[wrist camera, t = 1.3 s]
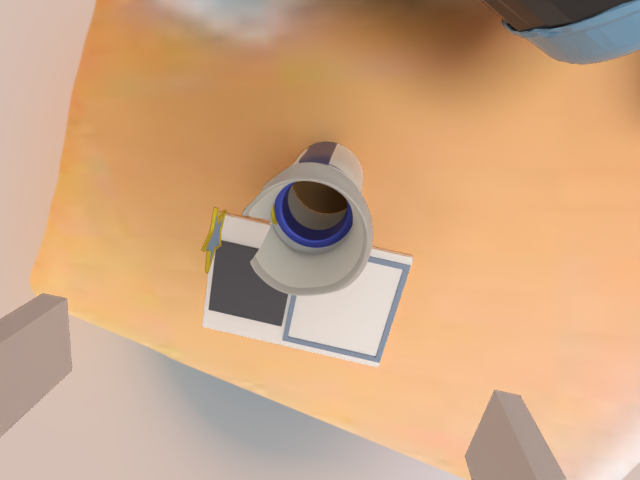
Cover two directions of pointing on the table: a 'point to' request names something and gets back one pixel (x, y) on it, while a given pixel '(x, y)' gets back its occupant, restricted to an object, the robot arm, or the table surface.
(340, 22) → the table surface
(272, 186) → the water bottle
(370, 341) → the stamp station
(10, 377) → the robot arm
